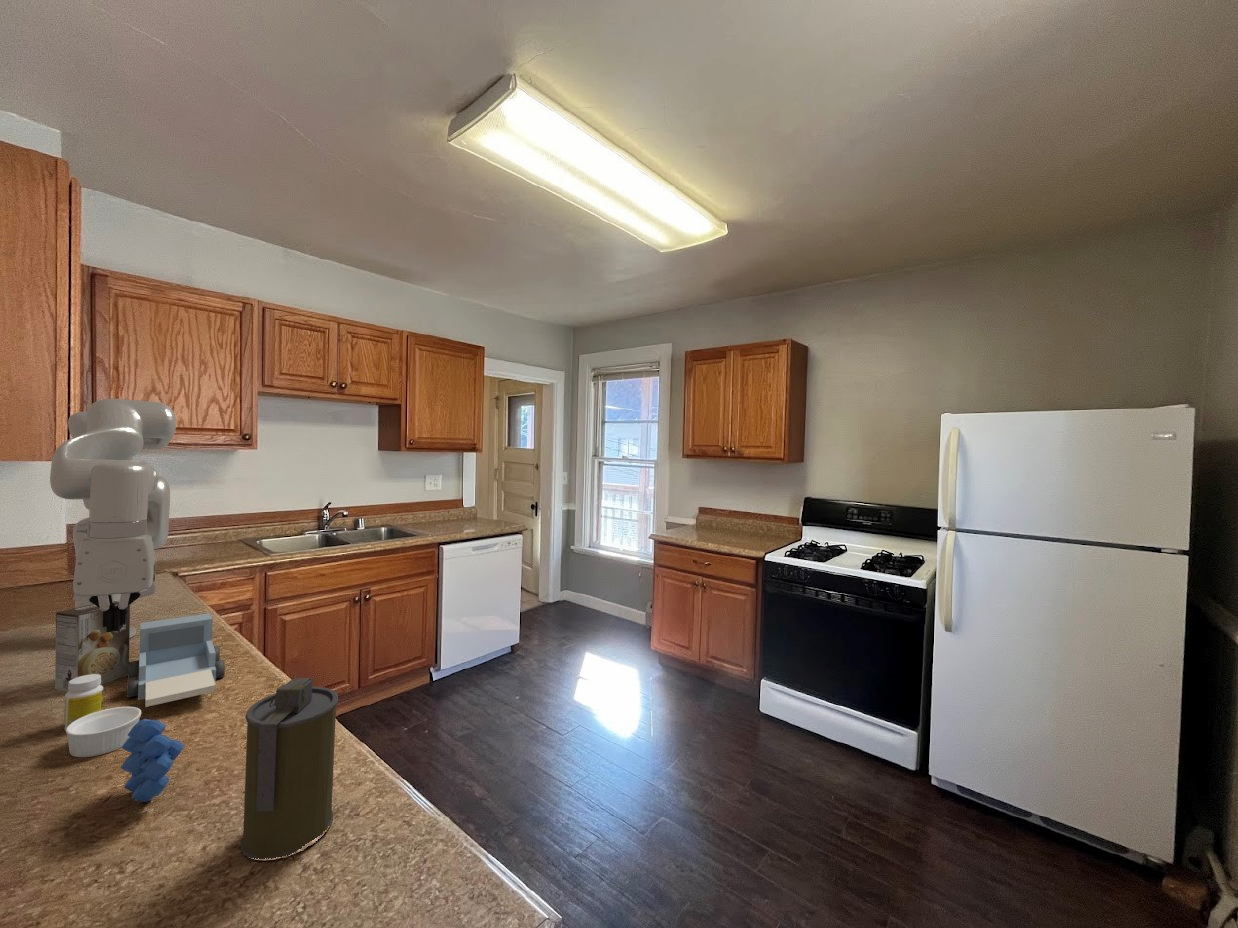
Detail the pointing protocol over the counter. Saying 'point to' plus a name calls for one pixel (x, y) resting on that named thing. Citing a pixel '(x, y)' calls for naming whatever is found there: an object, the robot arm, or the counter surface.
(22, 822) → the counter surface
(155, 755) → the grapes
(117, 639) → the coffee box
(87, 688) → the supplement bottle
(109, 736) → the ramekin
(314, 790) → the canister
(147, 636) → the pale blue toy cart
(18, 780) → the counter surface
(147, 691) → the panel
